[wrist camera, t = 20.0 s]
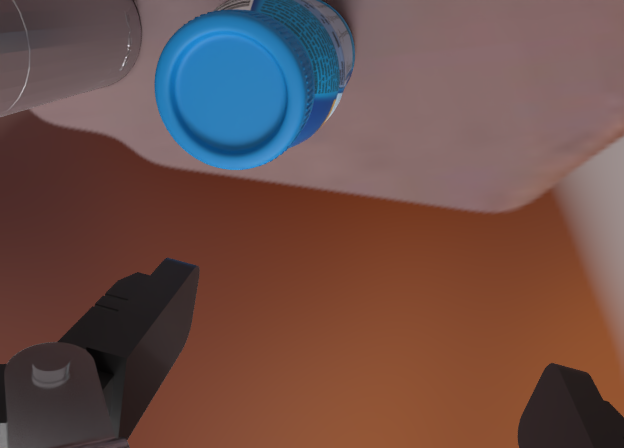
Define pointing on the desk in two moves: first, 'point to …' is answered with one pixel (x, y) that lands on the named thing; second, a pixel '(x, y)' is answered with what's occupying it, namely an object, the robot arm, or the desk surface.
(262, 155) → the beverage bottle
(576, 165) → the desk surface
